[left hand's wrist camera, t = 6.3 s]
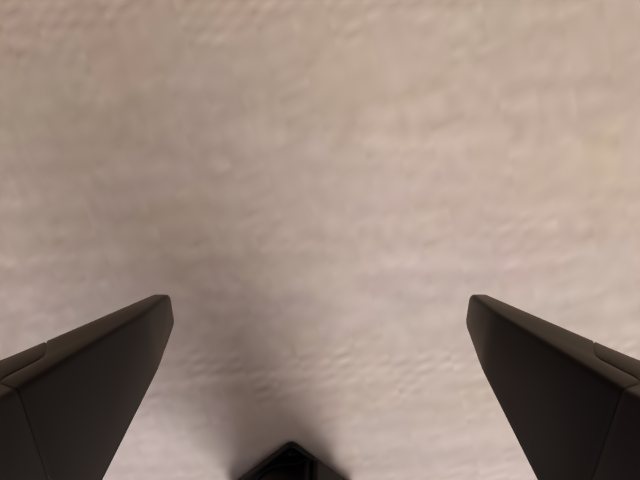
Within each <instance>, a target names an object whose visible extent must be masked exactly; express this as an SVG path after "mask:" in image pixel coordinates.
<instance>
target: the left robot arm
mask: <svg viewBox="0 0 640 480" xmlns="http://www.w3.org/2000/svg"><path fill="white" fill-rule="evenodd" d="M173 323H174V319H173V312H172V306H171V300H170V297H169V296H168V295H153V296H150V297H148V298H146V299H143V300H141V301H139V302H137V303H134V304H132V305H130V306H127V307H125V308H123V309H120V310H118V311H116V312H113V313H111V314H109V315H106V316H104V317H102V318H99V319H97V320H95V321H93V322H90V323H88V324H86V325H83V326H81V327H79V328H76V329H74V330H72V331H69V332H67V333H65V334H62V335H60V336H58V337H55V338H53V339H51V340H49V341H47V343H45V342H44V343H41V344H39V345H37V346H34V347H32V348H30V349H27V350H25V351H23V352H20V353H18V354H15V355H13V356H11V357H8V358H6V359H3V360H1V361H0V480H102V479H103V477H104V475H105V473H106V471H107V469H108V467H109V465H110V463H111V461H112V459H113V457H114V455H115V453H116V451H117V449H118V447H119V445H120V443H121V441H122V439H123V437H124V435H125V433H126V431H127V429H128V427H129V425H130V423H131V421H132V419H133V417H134V415H135V413H136V411H137V409H138V407H139V405H140V403H141V401H142V399H143V397H144V395H145V393H146V391H147V389H148V387H149V385H150V383H151V381H152V379H153V377H154V375H155V373H156V371H157V369H158V366H159V364H160V361H161V359H162V356H163V353H164V350H165V347H166V345H167V342H168V339H169V336H170V334H171V331H172V328H173ZM466 323H467V328H468V331H469V334H470V336H471V339H472V342H473V345H474V347H475V350H476V353H477V356H478V359H479V361H480V364H481V366H482V369H483V371H484V373H485V375H486V377H487V379H488V381H489V383H490V385H491V387H492V389H493V391H494V393H495V395H496V397H497V399H498V401H499V403H500V405H501V407H502V409H503V411H504V413H505V415H506V417H507V419H508V421H509V423H510V425H511V427H512V429H513V431H514V433H515V435H516V437H517V439H518V441H519V443H520V445H521V447H522V449H523V451H524V453H525V455H526V457H527V459H528V461H529V463H530V465H531V467H532V469H533V471H534V473H535V475H536V477H537V479H538V480H640V361H639V360H637V359H634V358H632V357H629V356H627V355H625V354H622V353H620V352H617V351H615V350H613V349H610V348H608V347H606V346H603V345H601V344H599V343H596V342H595V343H593V341H591V340H589V339H587V338H585V337H582V336H580V335H578V334H575V333H573V332H571V331H568V330H566V329H564V328H561V327H559V326H557V325H554V324H552V323H550V322H547V321H545V320H543V319H541V318H538V317H536V316H534V315H531V314H529V313H527V312H524V311H522V310H520V309H517V308H515V307H513V306H510V305H508V304H506V303H503V302H501V301H499V300H497V299H494V298H492V297H490V296H487V295H472V296H471V297H470V300H469V306H468V312H467V319H466ZM240 480H345V479H343V478H342V477H341V476H339V475H338V474H337V473H335V472H334V471H333V470H331V469H330V468H329V467H327V466H326V465H325V464H323V463H322V462H321V461H319V460H318V459H317V458H315V457H314V456H313V455H311V454H310V453H309V452H307V451H306V450H305V449H303V448H302V447H301V446H299V445H298V444H297V443H295V442H289V443H287V444H286V445H284V446H283V447H282V448H280V449H279V450H278V451H276V452H275V453H274V454H272V455H271V456H270V457H269V458H267V459H266V460H265V461H263V462H262V463H261V464H259V465H258V466H257V467H255V468H254V469H253V470H251V471H250V472H249V473H248V474H246V475H245V476H244V477H242V478H241V479H240Z"/></svg>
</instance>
